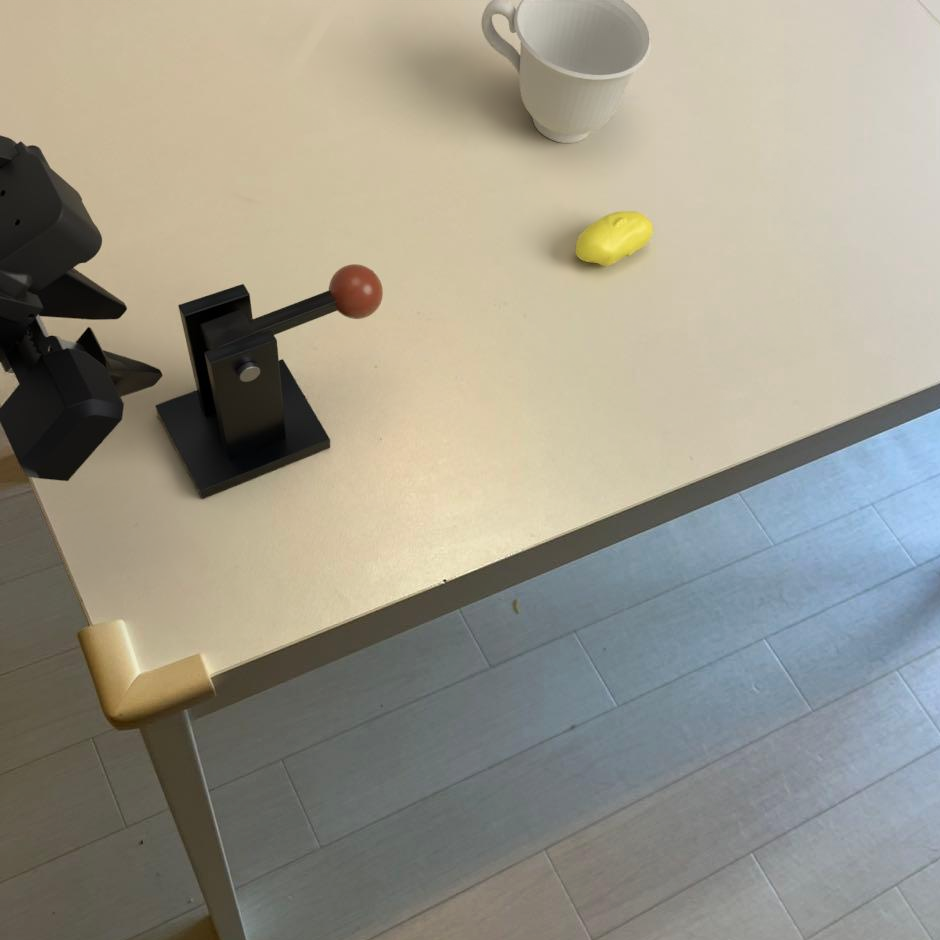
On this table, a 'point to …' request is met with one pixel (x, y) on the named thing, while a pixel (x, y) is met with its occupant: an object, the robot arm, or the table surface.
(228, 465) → the bracket
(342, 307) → the lever
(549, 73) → the teacup
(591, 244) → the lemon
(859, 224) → the table surface
